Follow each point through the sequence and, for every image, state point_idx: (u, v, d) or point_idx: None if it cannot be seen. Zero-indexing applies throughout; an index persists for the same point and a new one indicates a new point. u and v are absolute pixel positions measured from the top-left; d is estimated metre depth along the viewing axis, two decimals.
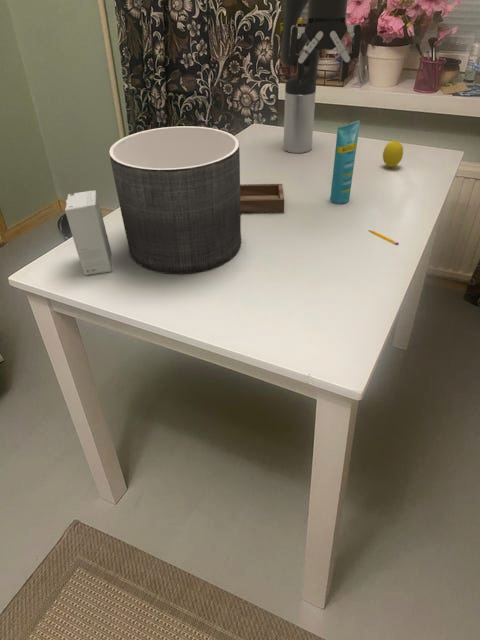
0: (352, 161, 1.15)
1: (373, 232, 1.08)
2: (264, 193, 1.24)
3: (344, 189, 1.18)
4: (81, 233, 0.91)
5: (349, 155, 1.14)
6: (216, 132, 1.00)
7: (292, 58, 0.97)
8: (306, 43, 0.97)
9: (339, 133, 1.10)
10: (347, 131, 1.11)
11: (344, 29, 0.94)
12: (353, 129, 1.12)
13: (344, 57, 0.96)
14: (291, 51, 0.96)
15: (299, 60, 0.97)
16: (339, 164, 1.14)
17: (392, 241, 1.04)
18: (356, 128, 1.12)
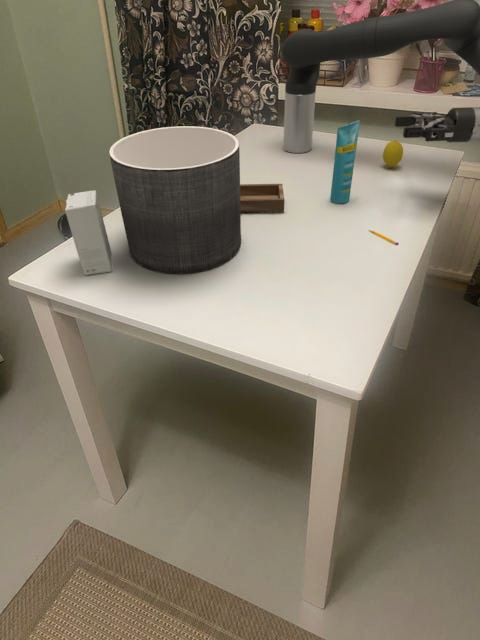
0: (352, 161, 1.15)
1: (373, 232, 1.08)
2: (264, 193, 1.24)
3: (344, 189, 1.18)
4: (81, 233, 0.91)
5: (349, 155, 1.14)
6: (216, 132, 1.00)
7: None
8: (435, 124, 1.07)
9: (339, 133, 1.10)
10: (347, 131, 1.11)
11: None
12: (353, 129, 1.12)
13: None
14: None
15: (423, 138, 1.07)
16: (339, 164, 1.14)
17: (392, 241, 1.04)
18: (356, 128, 1.12)
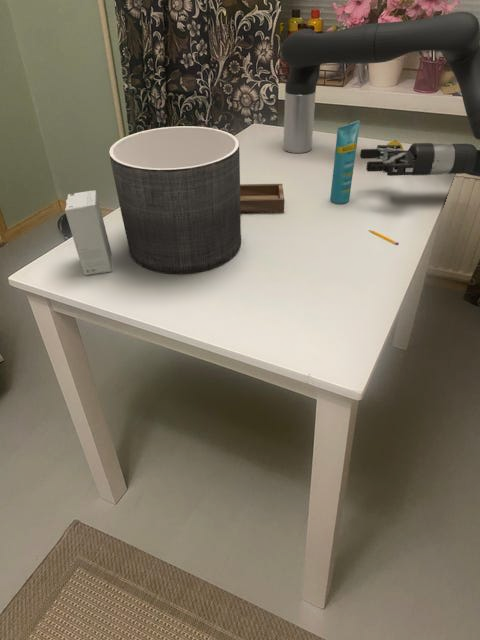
0: (352, 161, 1.15)
1: (373, 232, 1.08)
2: (264, 193, 1.24)
3: (344, 189, 1.18)
4: (81, 233, 0.91)
5: (349, 155, 1.14)
6: (216, 132, 1.00)
7: None
8: (396, 159, 1.12)
9: (339, 133, 1.10)
10: (347, 131, 1.11)
11: None
12: (353, 129, 1.12)
13: None
14: None
15: (385, 172, 1.13)
16: (339, 164, 1.14)
17: (392, 241, 1.04)
18: (356, 128, 1.12)
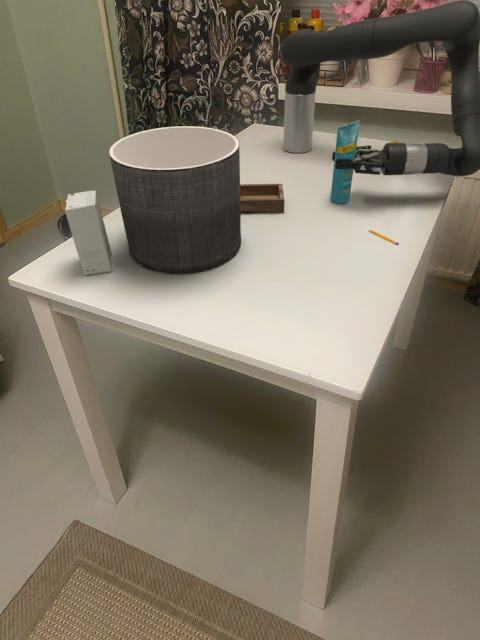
0: None
1: (373, 232, 1.08)
2: (264, 193, 1.24)
3: (344, 189, 1.18)
4: (81, 233, 0.91)
5: (349, 155, 1.14)
6: (216, 132, 1.00)
7: None
8: (366, 157, 1.13)
9: (339, 133, 1.10)
10: (347, 131, 1.11)
11: None
12: (353, 129, 1.12)
13: None
14: None
15: None
16: None
17: (392, 241, 1.04)
18: (356, 128, 1.12)
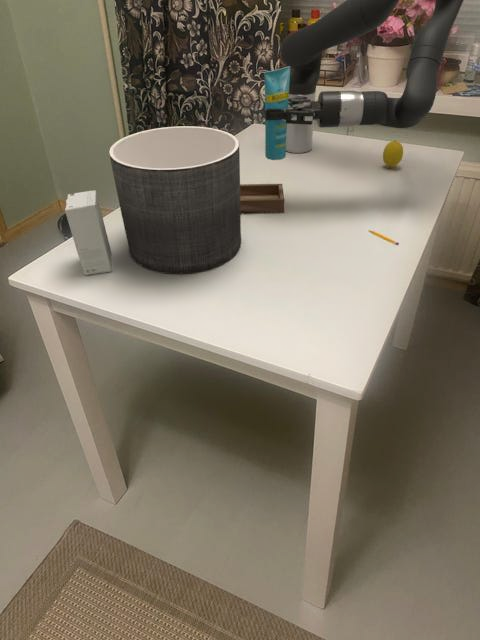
0: None
1: (373, 232, 1.08)
2: (264, 193, 1.24)
3: (278, 144, 1.10)
4: (81, 233, 0.91)
5: (280, 105, 1.05)
6: (216, 132, 1.00)
7: None
8: (298, 107, 1.04)
9: (266, 79, 1.01)
10: (276, 78, 1.03)
11: None
12: (283, 75, 1.04)
13: None
14: None
15: None
16: None
17: (392, 241, 1.04)
18: (287, 75, 1.04)
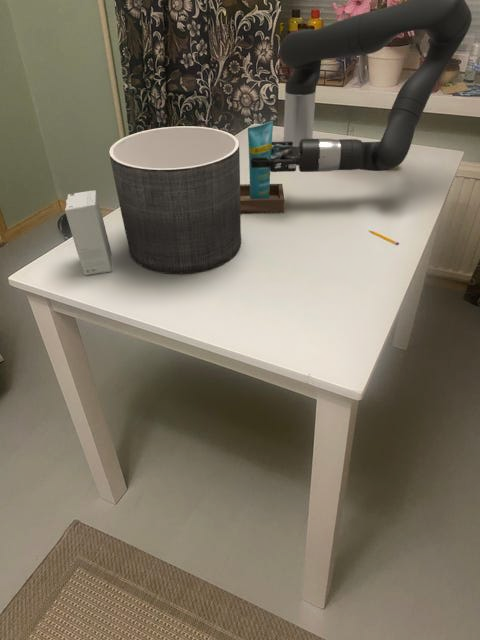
0: None
1: (373, 232, 1.08)
2: None
3: (261, 191, 1.17)
4: (81, 233, 0.91)
5: (263, 156, 1.12)
6: (216, 132, 1.00)
7: None
8: (281, 155, 1.10)
9: (250, 134, 1.08)
10: (259, 132, 1.10)
11: None
12: (266, 129, 1.11)
13: None
14: None
15: (269, 168, 1.11)
16: None
17: (392, 241, 1.04)
18: (270, 129, 1.11)
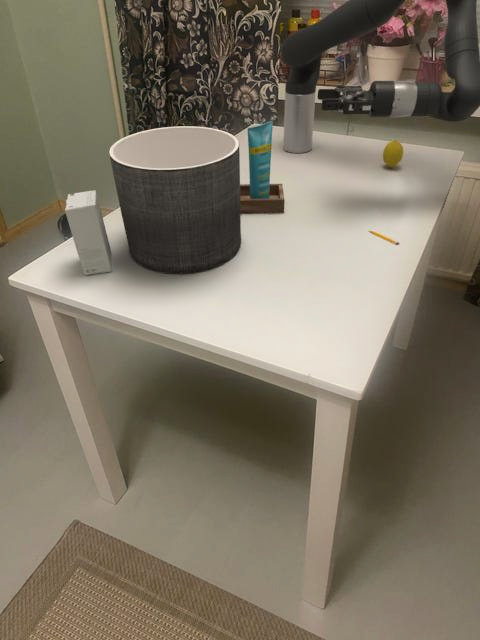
0: (267, 162, 1.14)
1: (373, 232, 1.08)
2: None
3: (261, 191, 1.17)
4: (81, 233, 0.91)
5: (263, 156, 1.12)
6: (216, 132, 1.00)
7: None
8: (354, 96, 1.03)
9: (249, 134, 1.08)
10: (259, 132, 1.10)
11: None
12: (266, 129, 1.11)
13: None
14: None
15: (341, 111, 1.04)
16: (253, 166, 1.13)
17: (393, 241, 1.04)
18: (269, 129, 1.11)
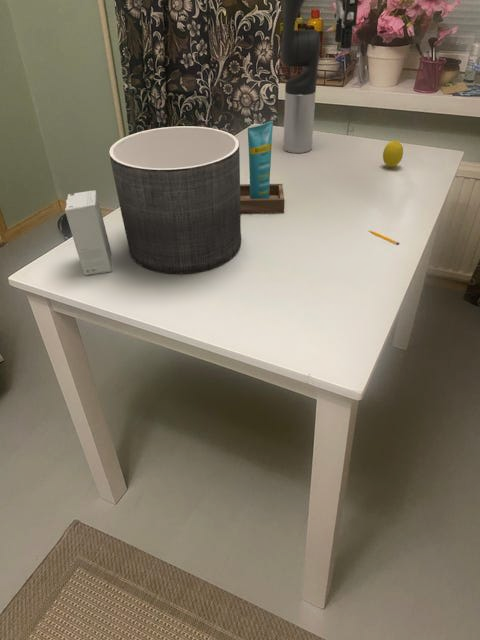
0: (267, 162, 1.14)
1: (373, 232, 1.08)
2: None
3: (261, 191, 1.17)
4: (81, 233, 0.91)
5: (263, 156, 1.12)
6: (216, 132, 1.00)
7: None
8: (341, 10, 1.00)
9: (250, 134, 1.08)
10: (259, 132, 1.10)
11: None
12: (266, 129, 1.11)
13: None
14: None
15: None
16: (254, 166, 1.13)
17: (393, 241, 1.04)
18: (269, 129, 1.11)
